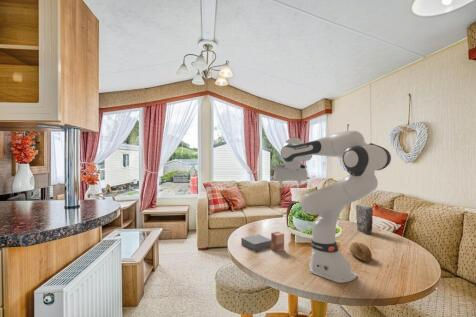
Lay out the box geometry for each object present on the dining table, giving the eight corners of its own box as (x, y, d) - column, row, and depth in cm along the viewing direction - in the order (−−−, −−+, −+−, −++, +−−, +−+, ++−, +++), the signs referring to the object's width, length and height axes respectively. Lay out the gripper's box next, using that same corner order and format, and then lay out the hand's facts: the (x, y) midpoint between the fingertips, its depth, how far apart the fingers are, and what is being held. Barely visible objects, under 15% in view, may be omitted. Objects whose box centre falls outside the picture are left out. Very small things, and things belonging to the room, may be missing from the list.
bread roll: (358, 263, 135) (358, 248, 135) (345, 252, 150) (345, 239, 150) (376, 263, 135) (376, 248, 135) (361, 252, 150) (361, 239, 150)
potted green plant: (298, 224, 211) (299, 200, 211) (301, 227, 203) (301, 202, 203) (285, 224, 211) (285, 200, 211) (287, 227, 204) (287, 202, 203)
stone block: (354, 229, 197) (354, 204, 197) (362, 229, 198) (362, 203, 198) (366, 234, 184) (366, 207, 184) (374, 234, 185) (374, 207, 185)
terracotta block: (284, 250, 153) (284, 233, 153) (277, 252, 150) (277, 235, 150) (277, 247, 158) (277, 231, 158) (271, 249, 155) (271, 233, 155)
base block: (272, 246, 159) (272, 240, 159) (254, 251, 152) (254, 244, 152) (258, 240, 171) (258, 234, 171) (241, 244, 163) (241, 238, 163)
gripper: (276, 165, 145) (274, 189, 146) (309, 166, 148) (307, 189, 150) (272, 163, 151) (271, 186, 152) (304, 164, 155) (303, 186, 156)
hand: (289, 187), depth 151 cm, fingers open, 8 cm apart
